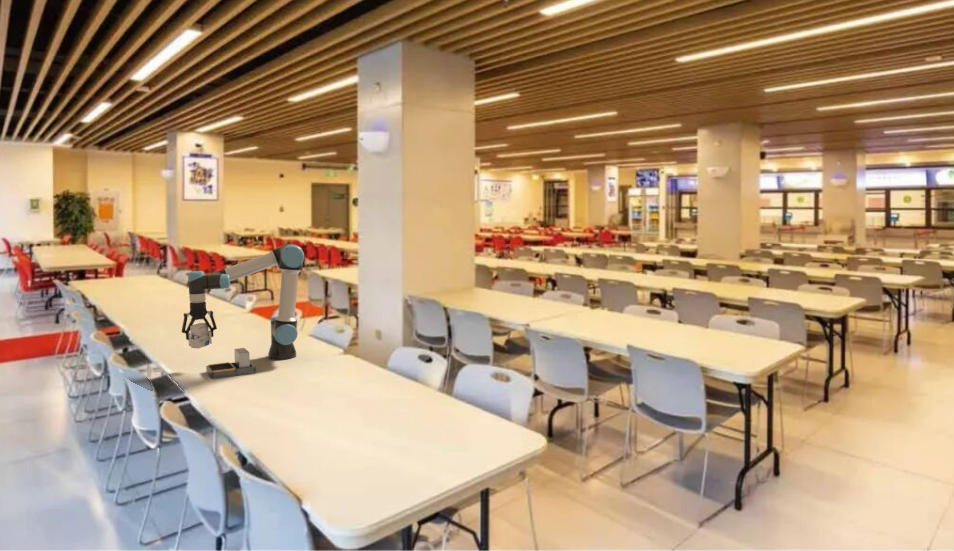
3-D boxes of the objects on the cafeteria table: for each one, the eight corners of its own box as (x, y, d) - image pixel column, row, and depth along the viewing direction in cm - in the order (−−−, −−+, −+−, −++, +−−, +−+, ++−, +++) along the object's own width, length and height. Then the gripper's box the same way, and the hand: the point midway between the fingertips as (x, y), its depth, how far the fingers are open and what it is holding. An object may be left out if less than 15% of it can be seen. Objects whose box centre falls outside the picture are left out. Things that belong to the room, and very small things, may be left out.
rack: (249, 366, 319) (248, 346, 318) (255, 373, 307) (255, 351, 306) (206, 371, 308) (205, 350, 306) (211, 379, 295) (210, 356, 294)
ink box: (201, 344, 315) (200, 322, 313) (210, 344, 314) (208, 322, 312) (190, 348, 306) (189, 325, 305) (199, 348, 305) (198, 326, 304)
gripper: (219, 298, 316) (221, 340, 319) (173, 302, 304) (176, 345, 307) (221, 300, 310) (224, 343, 313) (175, 304, 298) (178, 348, 301)
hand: (200, 344), depth 310 cm, fingers closed on ink box, 9 cm apart
